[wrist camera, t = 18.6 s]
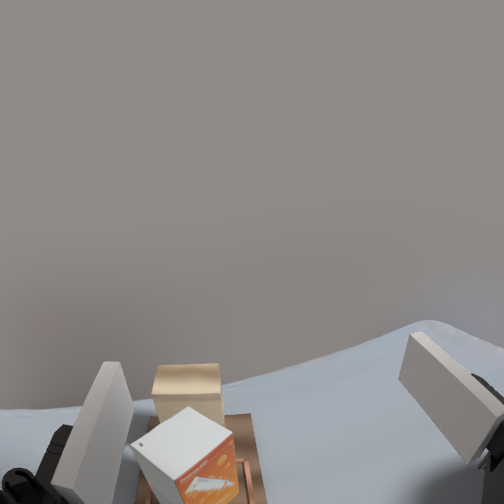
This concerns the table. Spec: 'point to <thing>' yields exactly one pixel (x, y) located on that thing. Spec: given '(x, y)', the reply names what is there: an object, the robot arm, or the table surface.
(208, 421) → the small box
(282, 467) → the table surface
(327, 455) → the table surface
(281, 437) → the table surface
